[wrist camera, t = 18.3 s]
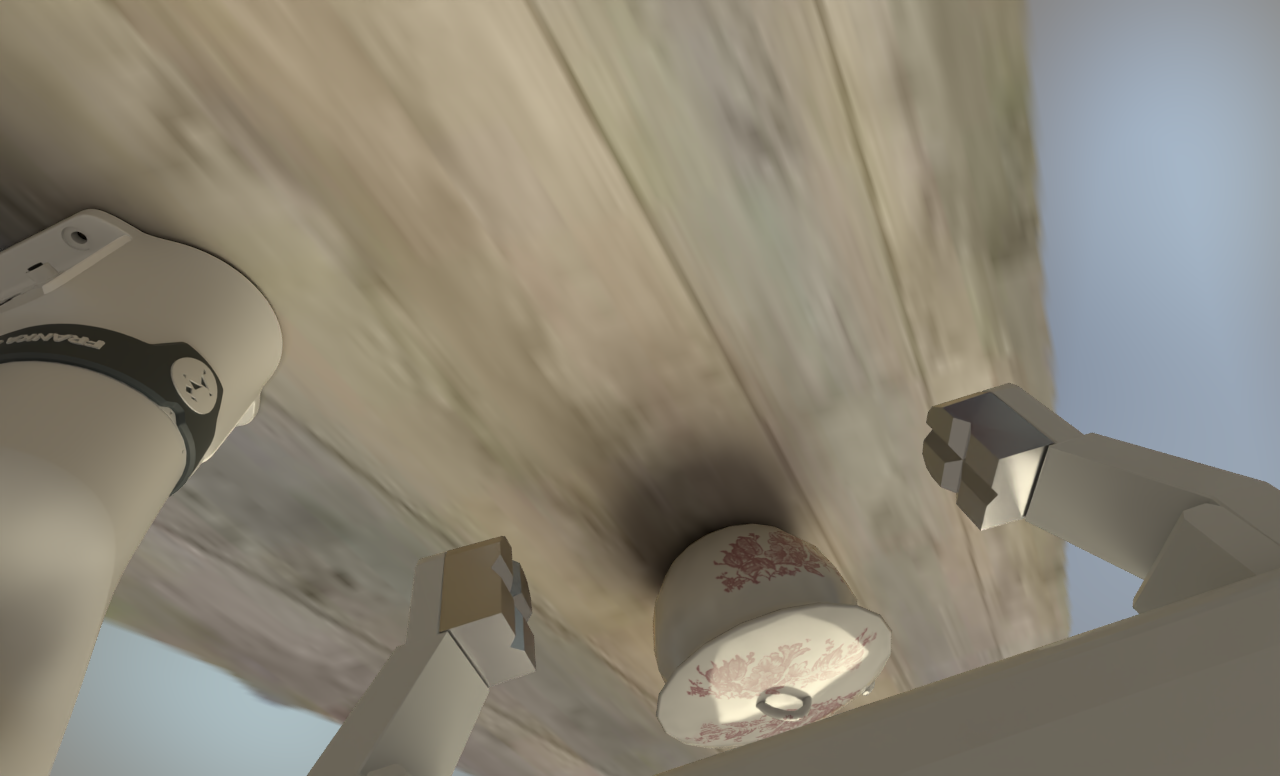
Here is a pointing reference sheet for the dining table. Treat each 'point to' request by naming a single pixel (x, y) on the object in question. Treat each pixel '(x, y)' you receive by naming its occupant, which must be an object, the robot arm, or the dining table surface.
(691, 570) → the chamber pot
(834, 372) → the dining table surface
